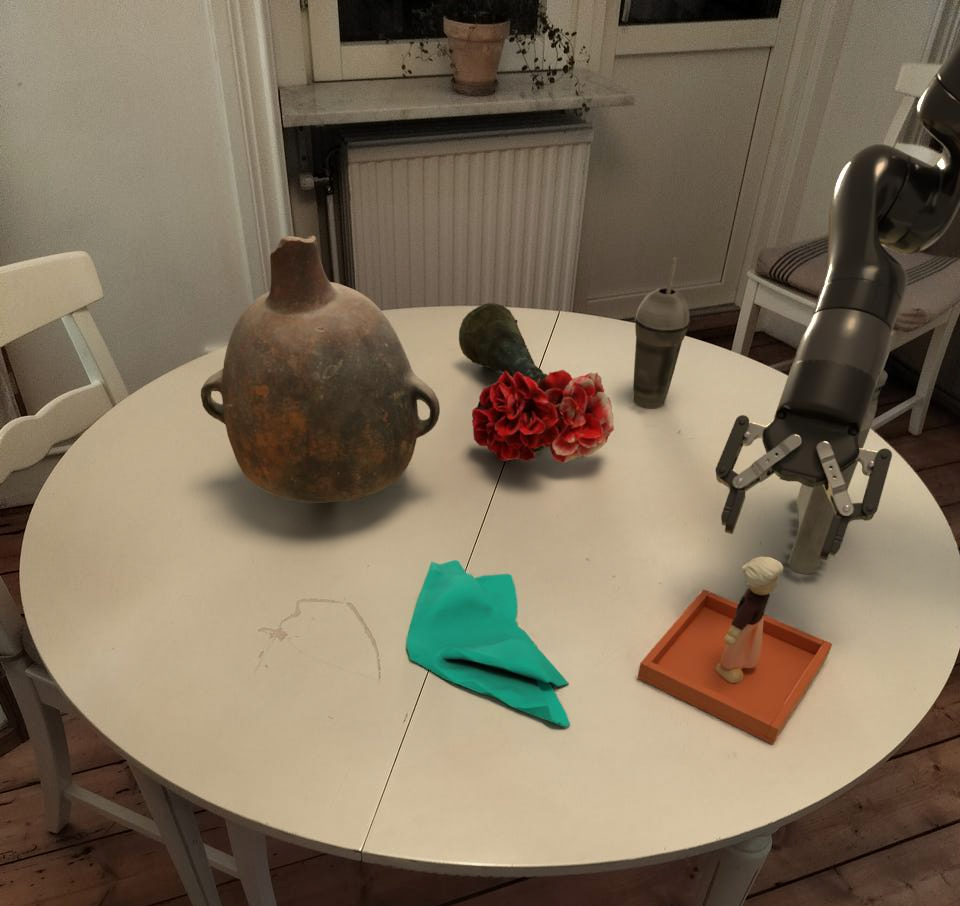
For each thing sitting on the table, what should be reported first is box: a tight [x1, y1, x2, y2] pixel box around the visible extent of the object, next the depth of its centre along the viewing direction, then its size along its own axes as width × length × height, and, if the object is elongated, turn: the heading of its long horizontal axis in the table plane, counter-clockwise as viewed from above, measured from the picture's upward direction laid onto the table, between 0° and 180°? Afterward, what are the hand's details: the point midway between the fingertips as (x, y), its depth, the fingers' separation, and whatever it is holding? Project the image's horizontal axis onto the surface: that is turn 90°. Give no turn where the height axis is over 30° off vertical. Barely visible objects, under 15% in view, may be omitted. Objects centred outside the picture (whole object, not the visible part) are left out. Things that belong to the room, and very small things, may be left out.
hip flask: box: [787, 368, 889, 575], centre depth 92 cm, size 16×4×20 cm, turn 161°
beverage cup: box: [632, 257, 691, 409], centre depth 115 cm, size 7×7×20 cm
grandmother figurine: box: [715, 556, 784, 683], centre depth 78 cm, size 8×4×13 cm, turn 155°
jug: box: [200, 235, 441, 504], centre depth 94 cm, size 24×21×30 cm
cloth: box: [405, 559, 571, 728], centre depth 84 cm, size 26×14×2 cm, turn 16°
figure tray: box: [637, 588, 833, 745], centre depth 82 cm, size 14×14×2 cm
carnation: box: [458, 302, 615, 464], centre depth 113 cm, size 16×18×35 cm
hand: (775, 544), depth 78 cm, fingers open, 8 cm apart
